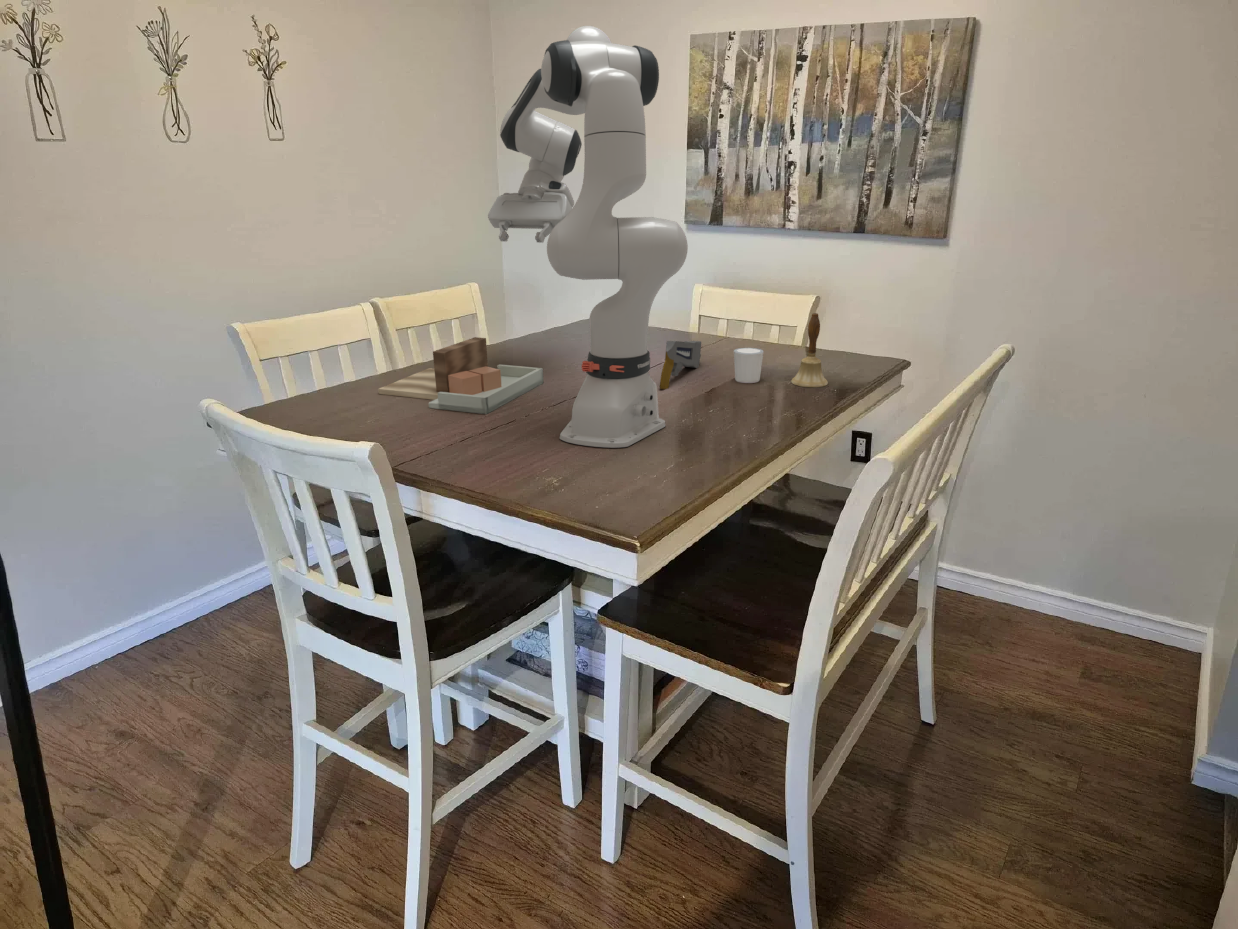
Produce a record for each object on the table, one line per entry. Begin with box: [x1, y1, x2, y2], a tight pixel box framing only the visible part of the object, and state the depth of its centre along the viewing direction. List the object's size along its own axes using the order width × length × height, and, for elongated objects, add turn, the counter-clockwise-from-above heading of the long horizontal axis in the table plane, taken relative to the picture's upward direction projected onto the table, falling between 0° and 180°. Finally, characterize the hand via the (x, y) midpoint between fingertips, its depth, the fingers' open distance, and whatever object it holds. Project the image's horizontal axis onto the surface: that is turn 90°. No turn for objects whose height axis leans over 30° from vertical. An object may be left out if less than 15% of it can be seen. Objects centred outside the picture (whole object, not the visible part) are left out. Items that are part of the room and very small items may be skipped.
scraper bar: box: [432, 336, 489, 393], centre depth 188 cm, size 16×3×9 cm, turn 155°
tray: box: [428, 364, 544, 415], centre depth 184 cm, size 26×14×4 cm, turn 158°
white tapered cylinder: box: [733, 347, 764, 384], centre depth 192 cm, size 7×7×7 cm
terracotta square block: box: [469, 366, 502, 392], centre depth 186 cm, size 5×5×4 cm
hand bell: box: [790, 312, 829, 388], centre depth 188 cm, size 8×8×16 cm
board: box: [377, 367, 438, 401], centre depth 192 cm, size 20×18×1 cm
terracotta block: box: [448, 371, 482, 395], centre depth 182 cm, size 5×5×4 cm
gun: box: [659, 340, 702, 390], centre depth 197 cm, size 3×25×15 cm, turn 158°
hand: (520, 240), depth 192 cm, fingers open, 8 cm apart
